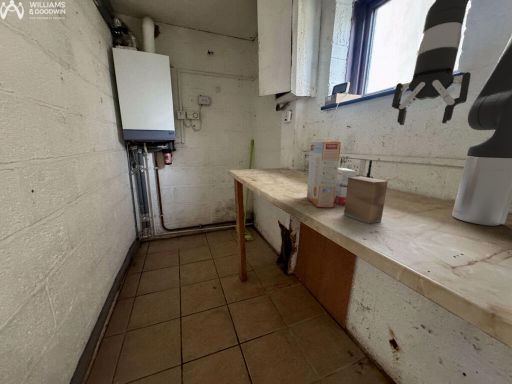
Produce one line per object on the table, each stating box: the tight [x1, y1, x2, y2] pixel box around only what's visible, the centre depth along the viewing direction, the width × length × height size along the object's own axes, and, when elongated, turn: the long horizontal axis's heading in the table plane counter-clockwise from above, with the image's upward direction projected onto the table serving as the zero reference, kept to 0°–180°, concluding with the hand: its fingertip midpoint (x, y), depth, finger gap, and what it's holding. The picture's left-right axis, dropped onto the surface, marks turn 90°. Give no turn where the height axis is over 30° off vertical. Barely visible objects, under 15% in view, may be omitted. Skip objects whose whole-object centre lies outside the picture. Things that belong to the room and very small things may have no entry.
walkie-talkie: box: [362, 159, 375, 179], centre depth 70 cm, size 5×3×15 cm
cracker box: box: [306, 140, 342, 209], centre depth 70 cm, size 14×6×21 cm, turn 179°
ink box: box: [334, 167, 357, 205], centre depth 72 cm, size 9×5×12 cm, turn 179°
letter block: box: [343, 176, 389, 225], centre depth 56 cm, size 5×8×11 cm, turn 23°
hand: (421, 124), depth 52 cm, fingers open, 8 cm apart
